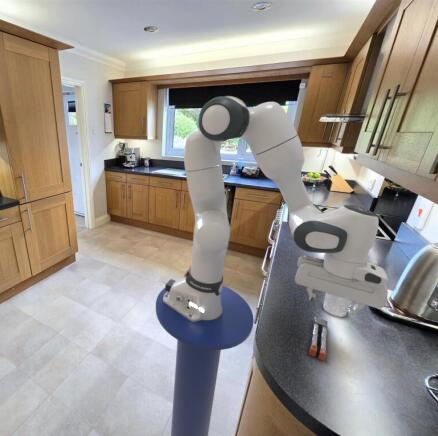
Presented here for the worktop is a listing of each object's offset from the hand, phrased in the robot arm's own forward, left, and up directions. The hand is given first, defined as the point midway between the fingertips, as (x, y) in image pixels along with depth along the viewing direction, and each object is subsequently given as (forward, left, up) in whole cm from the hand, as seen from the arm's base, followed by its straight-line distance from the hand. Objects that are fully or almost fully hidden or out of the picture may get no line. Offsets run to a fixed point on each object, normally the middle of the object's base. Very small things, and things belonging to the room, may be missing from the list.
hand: (330, 306), depth 70 cm
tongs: (0, 0, -13) cm, 13 cm away
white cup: (+4, +20, -14) cm, 24 cm away
